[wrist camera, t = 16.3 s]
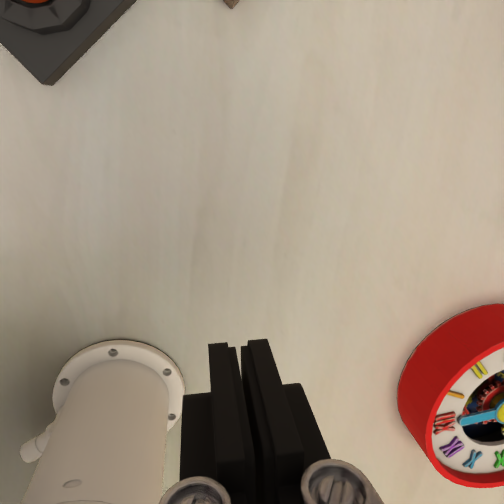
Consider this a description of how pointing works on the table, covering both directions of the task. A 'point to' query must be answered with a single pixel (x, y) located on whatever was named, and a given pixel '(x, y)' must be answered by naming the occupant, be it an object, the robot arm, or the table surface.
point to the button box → (55, 32)
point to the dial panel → (231, 3)
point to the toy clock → (459, 397)
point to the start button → (35, 1)
